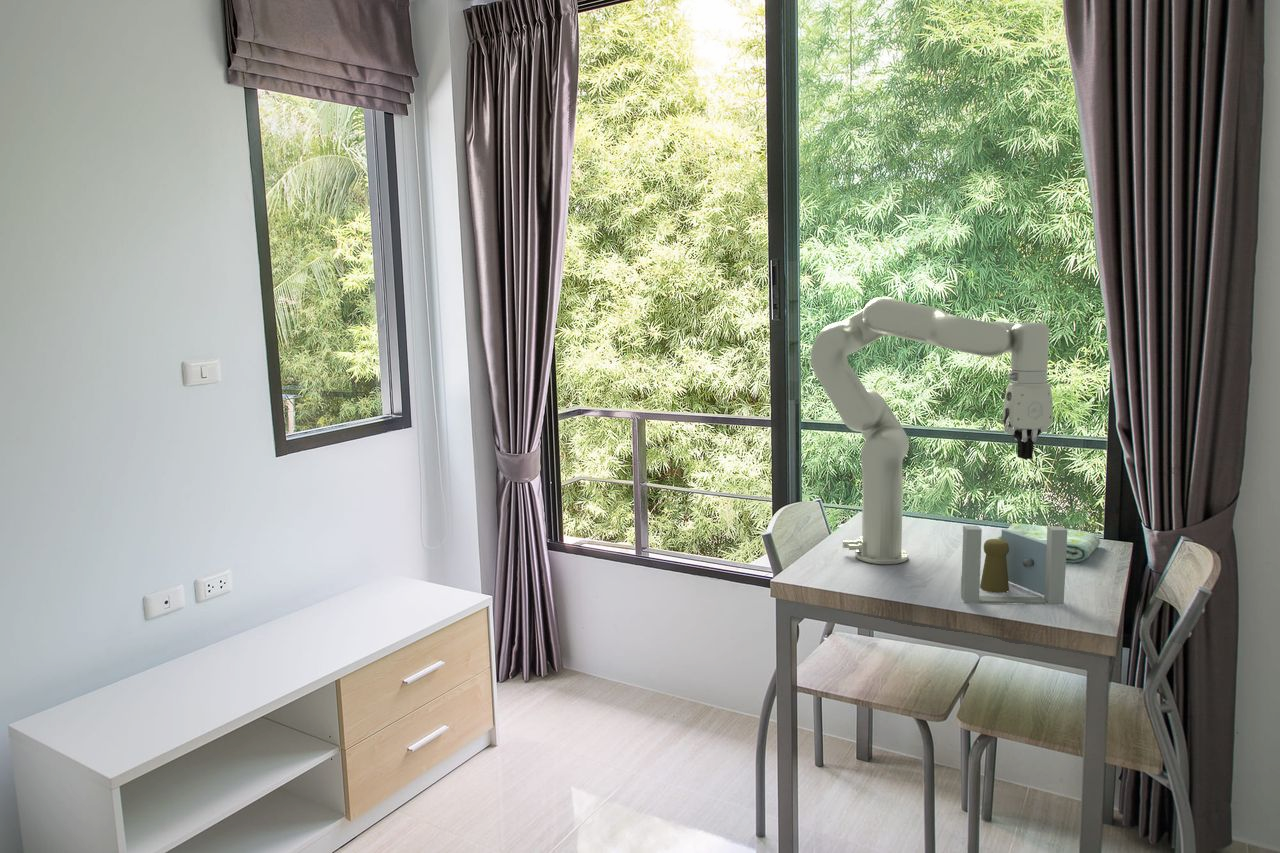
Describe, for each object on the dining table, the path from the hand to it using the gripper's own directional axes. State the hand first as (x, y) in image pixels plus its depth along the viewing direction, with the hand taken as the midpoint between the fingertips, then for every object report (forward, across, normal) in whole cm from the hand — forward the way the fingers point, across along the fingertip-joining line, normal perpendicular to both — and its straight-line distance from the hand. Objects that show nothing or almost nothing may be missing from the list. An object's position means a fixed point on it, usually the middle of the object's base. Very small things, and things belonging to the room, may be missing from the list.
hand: (1024, 458), depth 203 cm
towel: (+28, +18, +13) cm, 35 cm away
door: (+26, -8, -11) cm, 29 cm away
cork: (+27, -12, -8) cm, 31 cm away
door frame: (+27, -14, -16) cm, 34 cm away
